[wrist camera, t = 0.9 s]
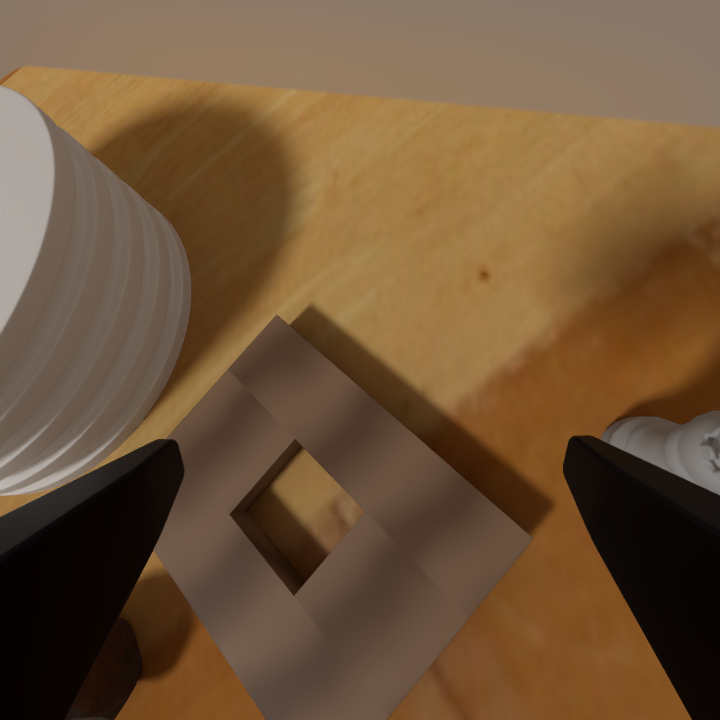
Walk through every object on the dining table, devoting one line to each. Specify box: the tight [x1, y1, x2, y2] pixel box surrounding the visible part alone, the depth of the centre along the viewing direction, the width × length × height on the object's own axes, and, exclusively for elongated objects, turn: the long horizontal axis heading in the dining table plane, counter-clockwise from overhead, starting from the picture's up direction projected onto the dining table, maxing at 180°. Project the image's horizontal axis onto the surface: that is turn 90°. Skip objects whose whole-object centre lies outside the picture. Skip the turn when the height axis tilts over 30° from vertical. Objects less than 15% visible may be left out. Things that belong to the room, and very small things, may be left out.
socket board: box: [154, 315, 533, 720], centre depth 22 cm, size 20×16×2 cm
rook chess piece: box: [601, 410, 720, 495], centre depth 16 cm, size 4×4×8 cm
